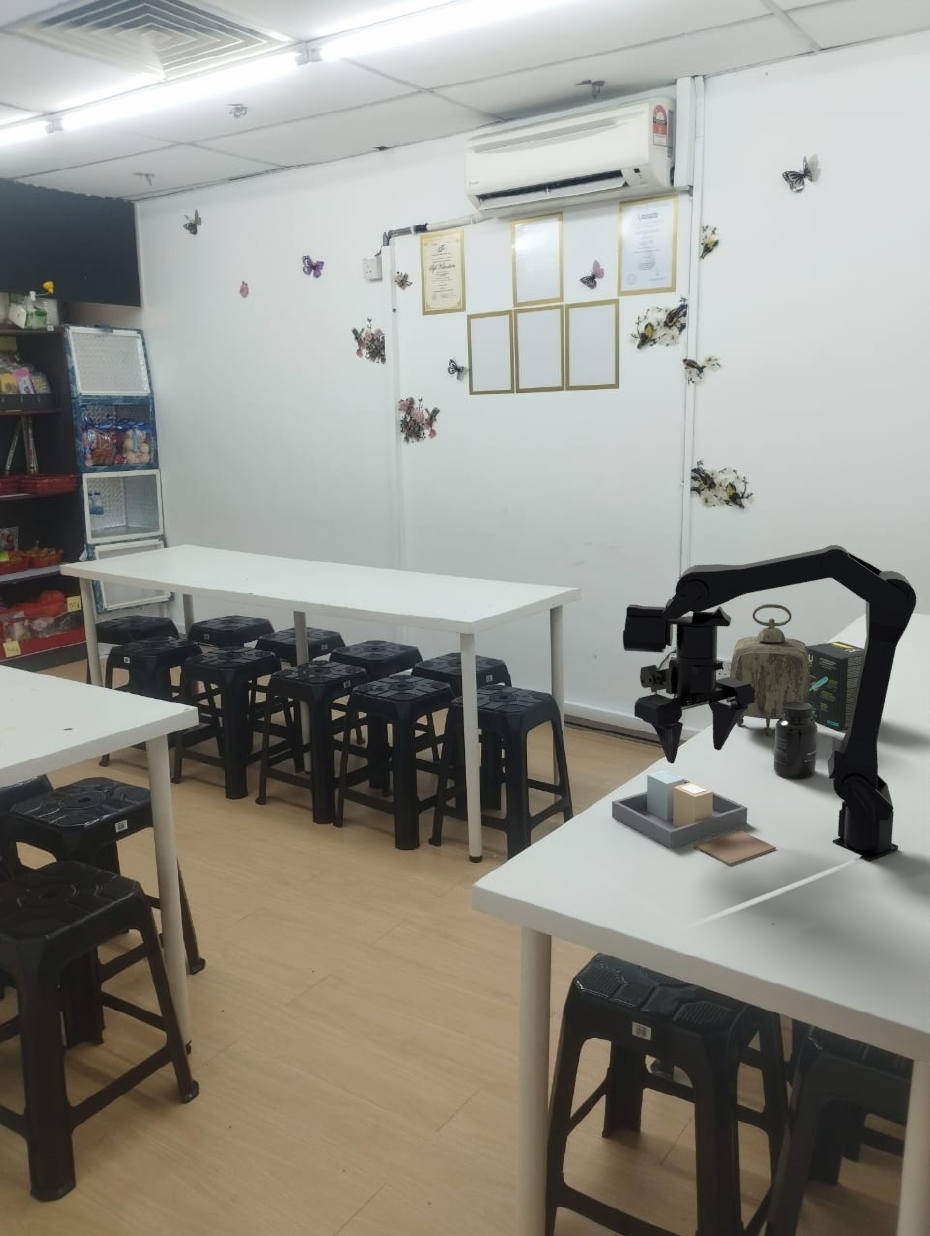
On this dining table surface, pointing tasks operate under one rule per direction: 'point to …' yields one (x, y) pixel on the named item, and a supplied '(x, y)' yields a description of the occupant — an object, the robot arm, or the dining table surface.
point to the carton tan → (691, 804)
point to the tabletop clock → (771, 669)
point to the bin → (666, 832)
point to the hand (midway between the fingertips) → (694, 755)
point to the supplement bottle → (795, 742)
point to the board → (734, 847)
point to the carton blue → (662, 793)
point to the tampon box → (833, 682)
